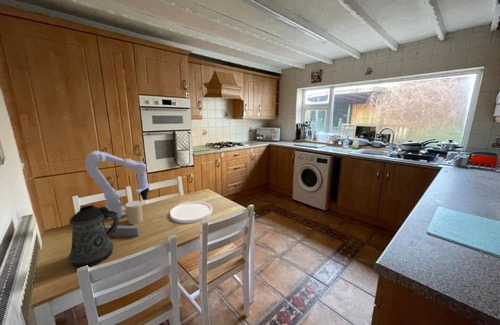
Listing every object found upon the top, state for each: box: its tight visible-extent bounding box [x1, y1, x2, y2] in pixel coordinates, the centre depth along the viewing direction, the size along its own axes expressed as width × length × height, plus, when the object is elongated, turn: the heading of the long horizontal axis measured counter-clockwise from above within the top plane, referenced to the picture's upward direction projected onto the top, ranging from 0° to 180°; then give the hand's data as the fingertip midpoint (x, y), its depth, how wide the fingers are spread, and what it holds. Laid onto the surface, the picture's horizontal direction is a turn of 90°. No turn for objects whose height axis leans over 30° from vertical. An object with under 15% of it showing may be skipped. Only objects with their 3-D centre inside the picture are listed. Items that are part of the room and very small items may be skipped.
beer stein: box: [68, 204, 120, 269], centre depth 95 cm, size 16×19×25 cm
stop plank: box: [105, 225, 141, 237], centre depth 113 cm, size 20×2×5 cm, turn 90°
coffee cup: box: [124, 200, 144, 225], centre depth 127 cm, size 9×9×12 cm
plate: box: [169, 200, 213, 224], centre depth 140 cm, size 28×28×2 cm
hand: (144, 199), depth 139 cm, fingers closed
